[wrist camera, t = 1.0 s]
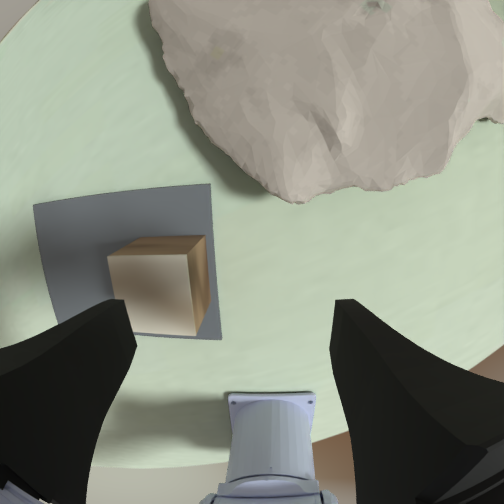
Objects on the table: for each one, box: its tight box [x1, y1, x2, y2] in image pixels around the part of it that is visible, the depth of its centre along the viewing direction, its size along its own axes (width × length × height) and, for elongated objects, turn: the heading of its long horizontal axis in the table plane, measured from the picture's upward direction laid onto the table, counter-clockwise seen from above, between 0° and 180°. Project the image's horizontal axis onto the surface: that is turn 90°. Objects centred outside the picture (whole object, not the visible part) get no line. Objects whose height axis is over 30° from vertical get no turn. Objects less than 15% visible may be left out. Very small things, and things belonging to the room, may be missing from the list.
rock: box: [148, 0, 504, 204], centre depth 13 cm, size 8×23×30 cm
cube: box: [107, 235, 211, 336], centre depth 18 cm, size 5×5×5 cm
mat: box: [33, 184, 222, 340], centre depth 21 cm, size 12×17×1 cm
